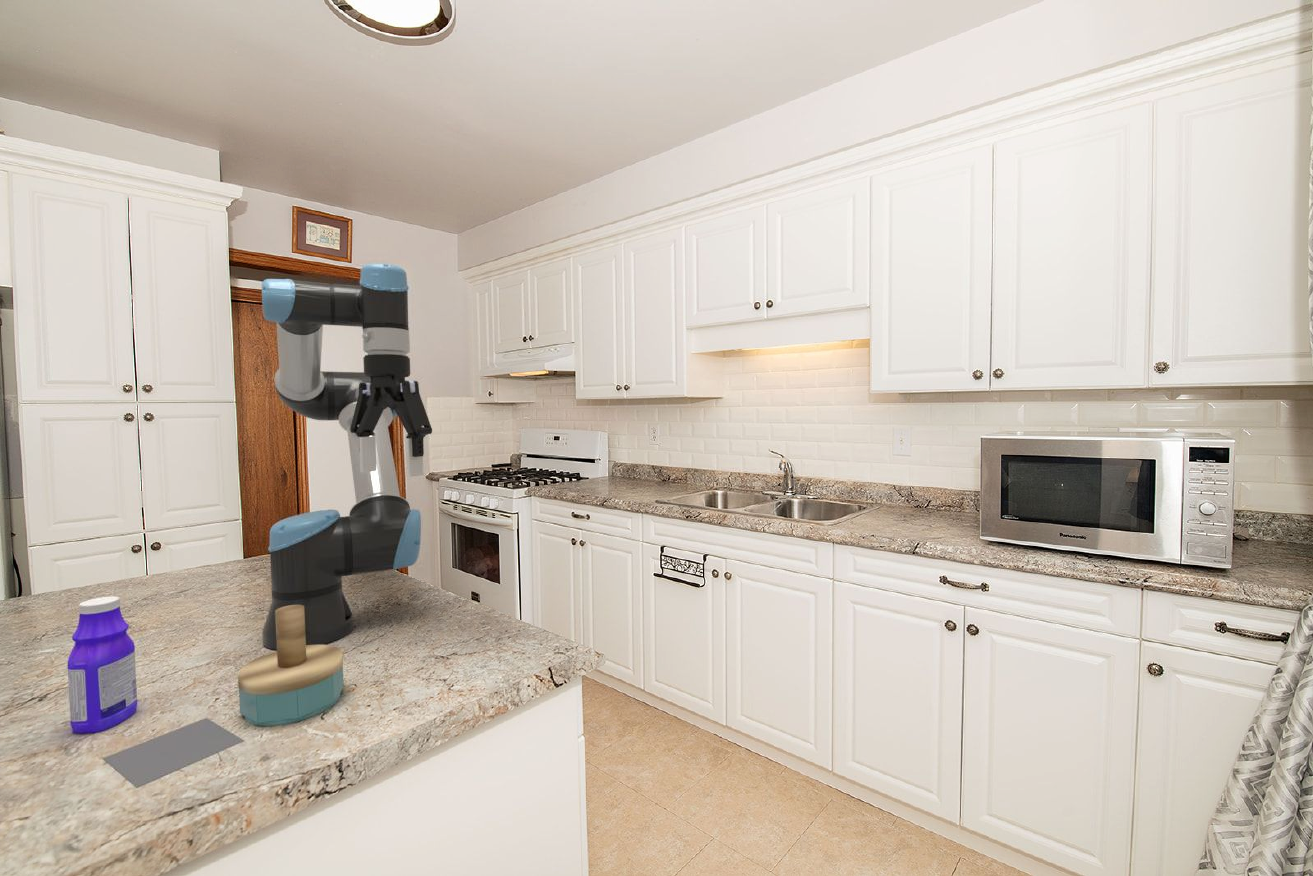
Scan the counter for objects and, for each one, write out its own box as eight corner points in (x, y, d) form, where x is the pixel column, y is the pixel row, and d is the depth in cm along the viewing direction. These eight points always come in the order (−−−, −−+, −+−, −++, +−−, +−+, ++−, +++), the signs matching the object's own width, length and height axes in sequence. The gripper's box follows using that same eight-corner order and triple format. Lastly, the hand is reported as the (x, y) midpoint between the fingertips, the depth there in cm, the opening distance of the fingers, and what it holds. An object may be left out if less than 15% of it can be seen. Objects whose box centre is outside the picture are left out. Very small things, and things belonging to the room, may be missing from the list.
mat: (102, 761, 73) (102, 758, 73) (206, 720, 83) (206, 717, 83) (137, 790, 68) (137, 787, 68) (244, 743, 77) (244, 740, 77)
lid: (220, 680, 84) (217, 614, 84) (313, 647, 95) (311, 589, 95) (266, 703, 77) (263, 632, 77) (361, 665, 88) (358, 603, 88)
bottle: (106, 710, 86) (98, 593, 85) (148, 708, 86) (141, 591, 85) (60, 739, 78) (51, 610, 77) (106, 736, 79) (97, 608, 78)
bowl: (228, 713, 84) (226, 679, 84) (313, 680, 95) (312, 649, 94) (271, 737, 78) (269, 700, 78) (357, 698, 88) (356, 666, 88)
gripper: (326, 356, 108) (331, 472, 109) (412, 348, 95) (417, 480, 96) (365, 359, 114) (369, 468, 115) (451, 352, 101) (454, 475, 102)
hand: (391, 473), depth 106 cm, fingers open, 13 cm apart
